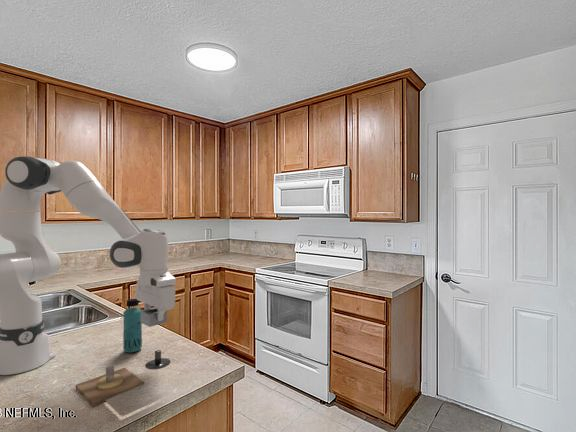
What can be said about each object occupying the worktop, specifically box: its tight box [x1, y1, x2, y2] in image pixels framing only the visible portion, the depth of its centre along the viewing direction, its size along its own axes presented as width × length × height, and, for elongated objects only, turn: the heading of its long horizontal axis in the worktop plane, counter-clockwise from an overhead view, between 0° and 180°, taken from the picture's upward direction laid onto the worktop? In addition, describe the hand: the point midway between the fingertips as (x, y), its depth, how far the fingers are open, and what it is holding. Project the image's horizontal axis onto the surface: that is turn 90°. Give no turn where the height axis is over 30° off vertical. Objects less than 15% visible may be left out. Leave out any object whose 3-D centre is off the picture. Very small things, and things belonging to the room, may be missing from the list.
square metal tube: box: [141, 307, 168, 328], centre depth 109 cm, size 6×6×4 cm
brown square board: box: [75, 365, 145, 408], centre depth 97 cm, size 14×14×6 cm
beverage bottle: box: [122, 298, 143, 353], centre depth 121 cm, size 6×7×20 cm
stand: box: [144, 349, 171, 370], centre depth 110 cm, size 8×8×5 cm
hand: (154, 317), depth 109 cm, fingers closed on square metal tube, 6 cm apart
